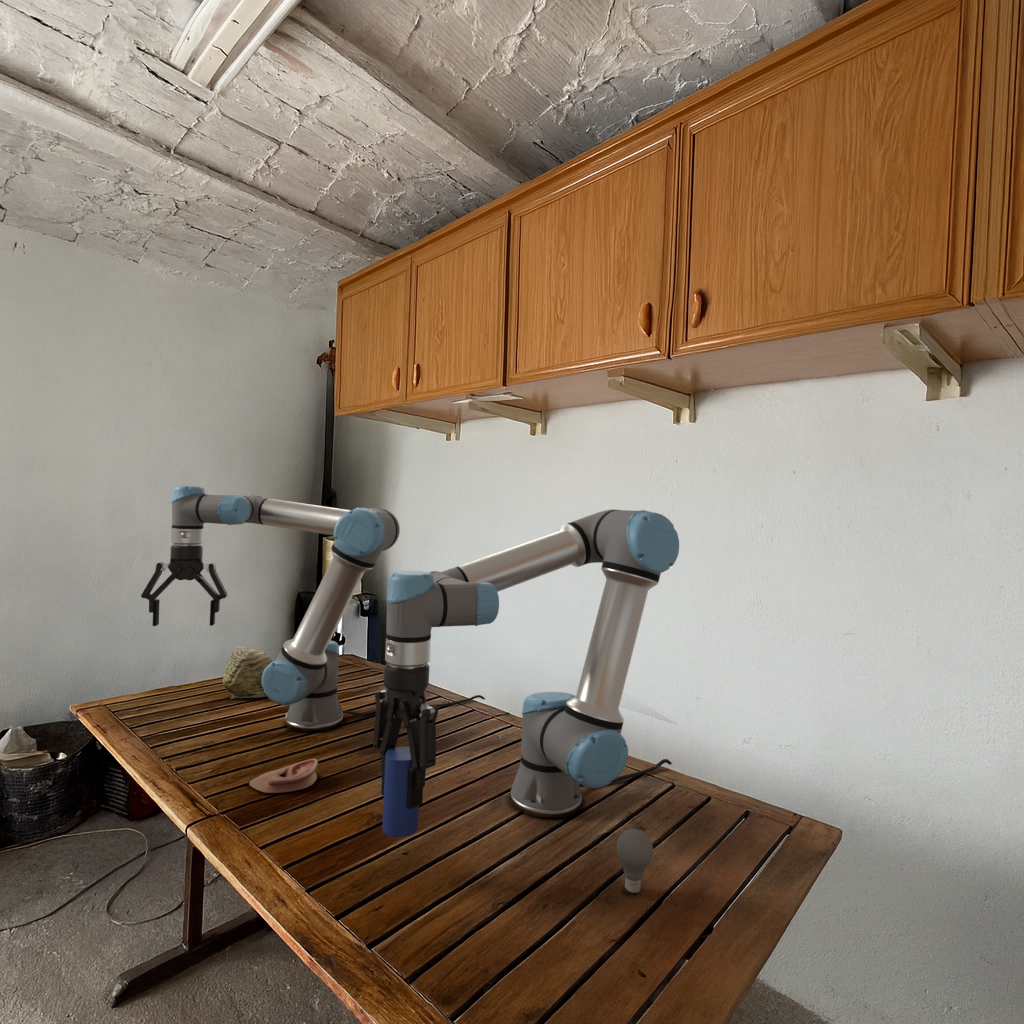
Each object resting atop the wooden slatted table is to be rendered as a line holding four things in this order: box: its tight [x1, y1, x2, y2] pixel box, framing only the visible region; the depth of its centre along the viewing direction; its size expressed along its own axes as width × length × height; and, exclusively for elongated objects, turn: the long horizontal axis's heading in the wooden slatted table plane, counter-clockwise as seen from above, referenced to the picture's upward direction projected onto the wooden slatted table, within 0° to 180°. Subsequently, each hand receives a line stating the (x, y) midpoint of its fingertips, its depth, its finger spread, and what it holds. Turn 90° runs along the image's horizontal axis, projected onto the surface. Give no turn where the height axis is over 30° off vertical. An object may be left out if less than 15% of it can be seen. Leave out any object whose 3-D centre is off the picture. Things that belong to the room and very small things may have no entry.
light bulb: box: [615, 828, 654, 894], centre depth 106 cm, size 6×6×10 cm
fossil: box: [222, 646, 274, 699], centre depth 198 cm, size 9×18×15 cm, turn 132°
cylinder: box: [381, 746, 420, 838], centre depth 107 cm, size 6×6×13 cm
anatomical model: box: [248, 758, 319, 794], centre depth 139 cm, size 13×4×12 cm
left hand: (184, 625), depth 167 cm, fingers open, 13 cm apart
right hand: (401, 798), depth 107 cm, fingers closed on cylinder, 6 cm apart
